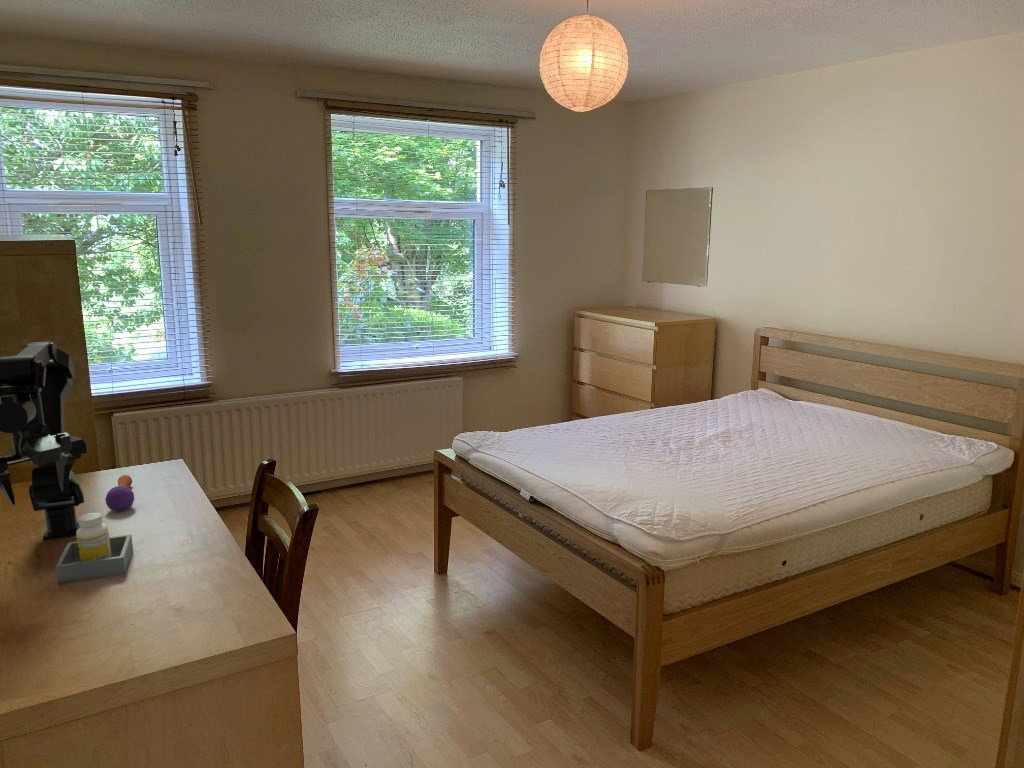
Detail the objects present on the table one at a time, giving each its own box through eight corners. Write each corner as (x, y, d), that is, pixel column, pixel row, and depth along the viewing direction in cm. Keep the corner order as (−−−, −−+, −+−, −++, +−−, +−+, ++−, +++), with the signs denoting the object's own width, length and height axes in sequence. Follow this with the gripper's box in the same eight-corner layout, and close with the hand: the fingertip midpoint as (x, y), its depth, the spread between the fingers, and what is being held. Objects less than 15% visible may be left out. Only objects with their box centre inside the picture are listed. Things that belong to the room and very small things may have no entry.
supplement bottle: (88, 557, 151) (82, 511, 148) (116, 556, 151) (110, 510, 149) (75, 570, 145) (68, 522, 143) (105, 568, 146) (98, 521, 144)
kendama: (139, 470, 193) (134, 489, 175) (136, 493, 193) (132, 515, 175) (112, 469, 190) (105, 488, 172) (110, 492, 191) (103, 514, 173)
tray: (70, 558, 152) (68, 542, 151) (133, 550, 155) (131, 534, 154) (58, 584, 141) (55, 567, 140) (125, 574, 145) (123, 557, 144)
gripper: (-11, 437, 134) (3, 520, 137) (96, 415, 149) (107, 491, 152) (-36, 429, 140) (-22, 508, 143) (69, 408, 155) (80, 481, 158)
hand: (38, 497), depth 149 cm, fingers open, 9 cm apart
